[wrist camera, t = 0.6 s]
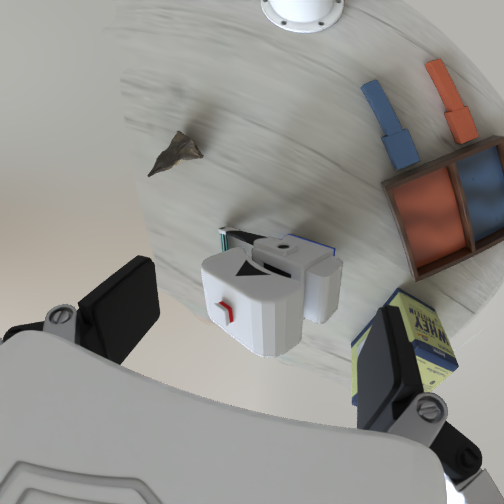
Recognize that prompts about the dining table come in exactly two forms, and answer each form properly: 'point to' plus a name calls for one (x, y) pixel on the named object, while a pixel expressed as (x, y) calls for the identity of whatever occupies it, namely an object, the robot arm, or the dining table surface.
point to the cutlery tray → (450, 207)
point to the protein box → (416, 342)
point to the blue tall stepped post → (391, 127)
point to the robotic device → (270, 289)
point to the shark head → (176, 153)
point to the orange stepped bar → (452, 103)
